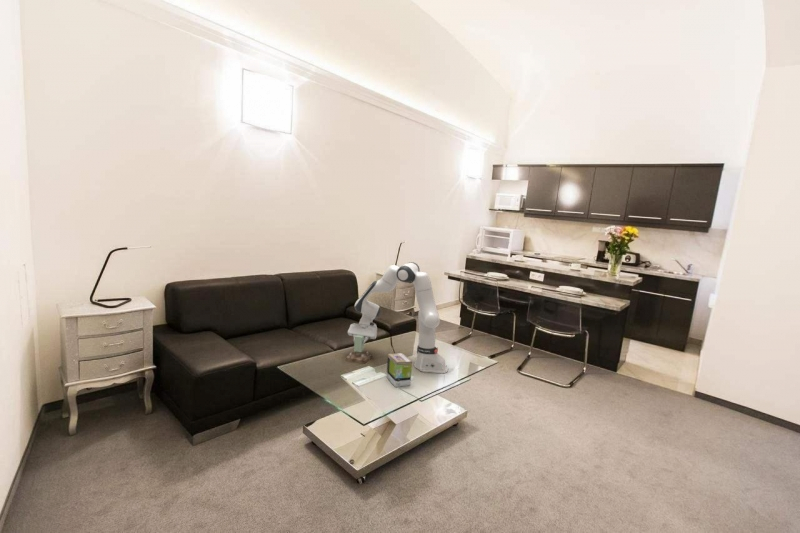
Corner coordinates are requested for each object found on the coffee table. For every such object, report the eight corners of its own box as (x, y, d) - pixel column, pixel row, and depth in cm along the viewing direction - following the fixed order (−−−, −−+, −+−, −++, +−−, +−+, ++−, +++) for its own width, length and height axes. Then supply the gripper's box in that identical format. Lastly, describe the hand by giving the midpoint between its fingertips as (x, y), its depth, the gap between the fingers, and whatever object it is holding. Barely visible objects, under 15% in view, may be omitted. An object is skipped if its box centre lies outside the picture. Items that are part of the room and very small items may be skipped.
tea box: (410, 385, 210) (412, 360, 209) (394, 387, 206) (396, 362, 205) (401, 375, 224) (402, 352, 222) (385, 377, 220) (387, 353, 219)
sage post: (363, 349, 248) (364, 335, 247) (360, 352, 244) (361, 337, 243) (356, 348, 250) (357, 334, 249) (353, 350, 245) (354, 336, 244)
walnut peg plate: (371, 357, 251) (371, 350, 251) (364, 363, 240) (365, 356, 239) (352, 354, 255) (352, 347, 254) (345, 360, 243) (345, 353, 243)
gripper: (350, 320, 254) (343, 337, 246) (377, 324, 249) (372, 342, 240) (352, 325, 259) (345, 342, 250) (379, 329, 254) (373, 346, 245)
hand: (358, 342), depth 245 cm, fingers closed on sage post, 5 cm apart
